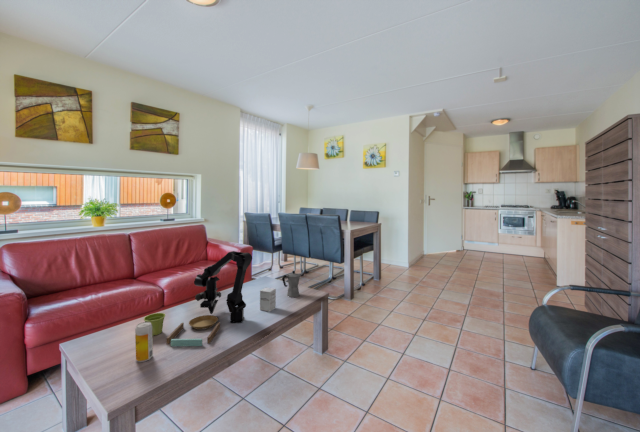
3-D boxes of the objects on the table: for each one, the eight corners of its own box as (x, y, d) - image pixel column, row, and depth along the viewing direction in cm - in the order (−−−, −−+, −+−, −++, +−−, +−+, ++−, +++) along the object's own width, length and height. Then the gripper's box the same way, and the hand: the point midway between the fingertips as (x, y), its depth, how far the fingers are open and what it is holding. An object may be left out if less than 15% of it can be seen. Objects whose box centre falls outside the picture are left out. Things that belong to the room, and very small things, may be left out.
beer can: (141, 354, 119) (140, 321, 118) (155, 354, 120) (154, 321, 119) (132, 363, 113) (131, 328, 112) (148, 362, 114) (147, 327, 113)
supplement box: (259, 310, 169) (259, 290, 169) (266, 306, 176) (266, 286, 176) (269, 312, 167) (269, 292, 166) (276, 307, 174) (276, 288, 173)
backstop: (202, 344, 128) (202, 338, 128) (201, 345, 127) (201, 339, 127) (171, 345, 127) (171, 339, 127) (170, 346, 126) (170, 340, 126)
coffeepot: (298, 292, 204) (298, 268, 203) (304, 295, 196) (304, 271, 195) (279, 295, 196) (279, 270, 195) (284, 299, 188) (285, 274, 187)
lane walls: (220, 327, 145) (220, 322, 145) (209, 343, 129) (209, 337, 129) (181, 328, 144) (181, 322, 144) (166, 344, 128) (166, 338, 128)
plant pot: (155, 338, 133) (155, 321, 133) (139, 336, 135) (139, 319, 134) (169, 330, 142) (169, 313, 142) (154, 328, 144) (154, 312, 144)
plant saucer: (189, 321, 153) (189, 317, 153) (217, 317, 158) (217, 313, 158) (187, 333, 139) (187, 328, 139) (218, 329, 145) (218, 324, 145)
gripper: (203, 282, 169) (203, 307, 170) (190, 293, 150) (190, 320, 151) (221, 282, 170) (221, 307, 170) (211, 293, 151) (211, 320, 152)
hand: (211, 313), depth 161 cm, fingers closed
